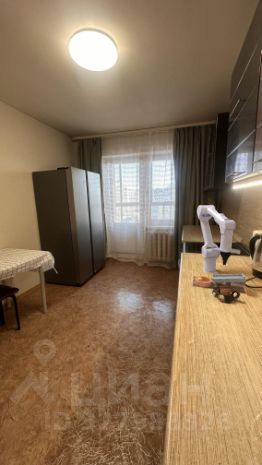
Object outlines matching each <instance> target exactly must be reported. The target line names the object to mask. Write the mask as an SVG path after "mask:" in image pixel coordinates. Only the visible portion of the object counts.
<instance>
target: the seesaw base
mask: <svg viewBox="0 0 262 465" xmlns="http://www.w3.org/2000/svg"><path fill="white" fill-rule="evenodd" d="M196 277H197V276H194V275H193V277H192V278H193V280H192V281H193V282H192V287H195V288H203V289H211V290H213V287H219V286H229V289H231V290H238V291H239V292H240V294H247V293H246V290H245V288H244V285H240V284H239V282H213V277H212V278H210V277H209V278H210V279H212V286H210V287H200V286H198V285H196V284H195V278H196Z"/></svg>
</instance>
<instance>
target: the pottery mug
mask: <svg viewBox="0 0 262 465" xmlns="http://www.w3.org/2000/svg"><path fill="white" fill-rule="evenodd" d="M211 294H220V295H222V297H223V298H222V299H219V302H220V303H223V304H231V303H233V302H234V301H235V300H238V299H239V298H240V297H241V293H240V292H239V291H238V290H231V289H229V286H219V287H213V289H212V291H211ZM234 294H236V295H234Z"/></svg>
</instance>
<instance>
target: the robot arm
mask: <svg viewBox="0 0 262 465" xmlns="http://www.w3.org/2000/svg"><path fill="white" fill-rule="evenodd" d="M196 213H197V217H198V218H197V219H198V220H199V222H200V227H201V231H202V236H203V241H204V242H203V243H204V245H202V247H201V255H202V258H203V259H204V260H203V261H204V262H203V267H202V271H203V272H208V273H213V272H217V269H216V268H217V260H218V259H219V257H220V256H221V259H222V265H223V266H226V265H227V262H228V260H229V259H230V257H232V256H231V255H232V254H237V255H240V254H241V249H236V248H232V246H233V245H232V244H233V233H234V231H235V230H236V228H237V223H236V221H235V220H234V219H229V218H228V217H227V216H225V214H224V213H219V212H218V211H217V210H216V206H214V205H213V204H209V205H204V204H203V205H202V204H200V205H198V207H197V210H196ZM212 218H213V219H214V221H215V223H216V224H217V225H219V229H220V245H219V246H218V245H217V244H216V243H215V242H214V240H213V236H212V232H211V227H210V222H209V221H210V220H211V219H212Z"/></svg>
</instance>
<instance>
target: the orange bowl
mask: <svg viewBox="0 0 262 465" xmlns="http://www.w3.org/2000/svg"><path fill="white" fill-rule="evenodd" d="M198 277H201V278H202V279H203V281H202V282H201V281H198V280H197V278H198ZM212 279H213V278H212ZM212 279H210V277H208V276H205V275H204V276H203V275H201V276H200V275H198V276H196V278H195V284H196V285H198V286H200V287H199V288H202V287H210V286H212Z"/></svg>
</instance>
